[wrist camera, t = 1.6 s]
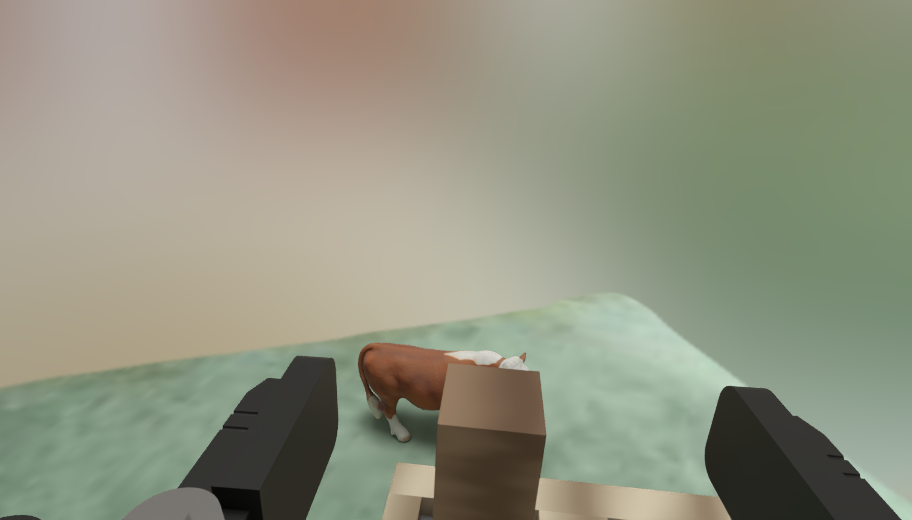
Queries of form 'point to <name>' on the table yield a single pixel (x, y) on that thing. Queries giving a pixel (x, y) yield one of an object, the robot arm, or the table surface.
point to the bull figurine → (415, 376)
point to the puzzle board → (560, 500)
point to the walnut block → (489, 444)
